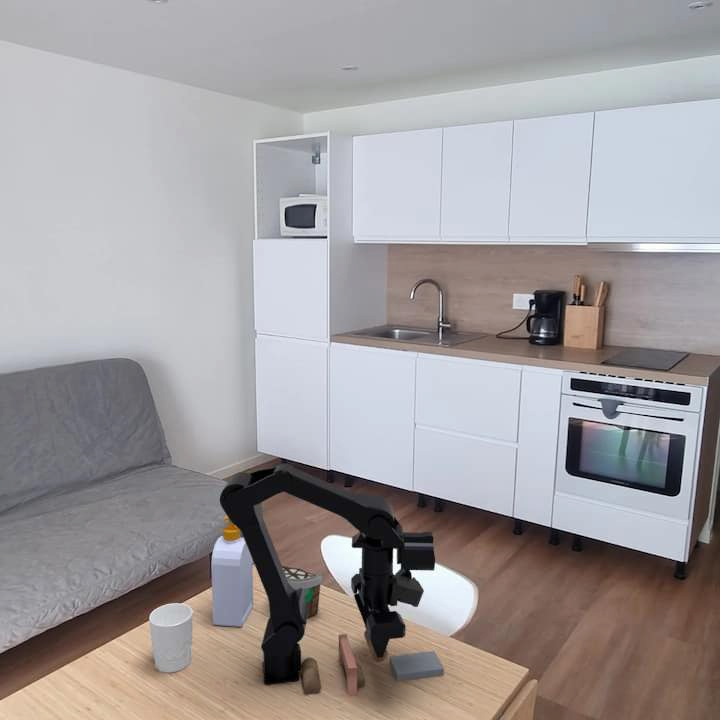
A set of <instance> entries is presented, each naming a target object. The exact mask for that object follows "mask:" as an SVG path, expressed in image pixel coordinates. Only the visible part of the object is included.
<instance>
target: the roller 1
mask: <svg viewBox="0 0 720 720" xmlns="http://www.w3.org/2000/svg"><path fill="white" fill-rule="evenodd" d="M318 666H319V665H318V662H317V660H316V659H315V657H314V658H313V657H307V658H305V659H303V660H302V661H301V675H302V682H303V689H304V692H305V693H306V694H307V695H308V696H309V695H317V694H319V693H320V691H321V690H322V685H321V678H320V673H319V672H320V671H319V667H318Z"/></svg>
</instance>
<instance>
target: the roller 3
mask: <svg viewBox="0 0 720 720" xmlns="http://www.w3.org/2000/svg"><path fill="white" fill-rule="evenodd" d="M363 634H364V636H363V637H364V639H365V641H366V645H367V647H368V650H369V653H370V656H371V660H373V661H374V662H377V663H381V662H383V661H385V660H386V659H387V658H388V655H389V654H388V653H389V652H388V649H387V648H386V650H385V653H384V656H383V657H382V658H377V656H376V653H375V651H374V648H373V646H372V643H371V641H370V638H369V636H368V633H367V630H366V629H365V631H364V633H363Z"/></svg>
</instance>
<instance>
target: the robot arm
mask: <svg viewBox="0 0 720 720" xmlns="http://www.w3.org/2000/svg"><path fill="white" fill-rule="evenodd" d="M281 493H286V494H289V495H290V496H293V497H295V498H297V499H300V500H302V501H305V502H307V503H309V504H311V505H314V506H317V507H318V508H321V509H324V510H326V511H328V512H330V513H332V514H335V515H338V516H340V517H341V518H343V519H344V520H346V521H347V522H348V523H349V524H351V526H352V527H354V528H355V529H356V530H357V531H358V533H355V535H353V536H352V538H351V548H353V549H361V567H359V568H358V569H359V570H358V573H355V574H354V575H353V576H352V577H351V579H350V587H351V588H350V589H351V590H352V593H353V594H354V595H353V598H354V600H355V603H356V606H357V609H358V610H359V613H360V615H361V618H362V621H363V623H364V628H365V631H366V630H367V633H368V636H369V638H370V641H371V643H372V646H373V648H374V651H375V653H376V656H377V658H382V657H383V656H384V653H385V650H386V649H387V647H388V645H389V642H390V640H392V639H393V640H394V639H402V638H405V636H406V629H407V628H406V627H407V626H406V624H405V622H404V619H403V617H402V615H401V614H400V613H398V611H397V610H390V607H396V606H398V602H399V603H403V604H407V605H410V606H412V607H413V608H417V607H419V605H420V602H421V599H422V597H423V595H424V592H425V590H424V589H423V586H422V585H421V583H420V581H418V580H417V579H416V577H413V574H412V571H429V572H430V571H432V572H433V571H435V569H436V556H435V546H434V534H433V533H434V532H432V531H423V532H422V531H421V532H413V531H412V532H409V531H408V532H406V531H404V528H403V525H402V523H400V521H399V520H398V519H397V518H396V516H395V515H394V508H393V505H392V504H391V502H390V501H389V500H388V499H387V498H385V497H382V496H378V495H373V494H370V493H357V492H351V491H348V490H346V489H344V488H342V487H340V486H337V485H335V484H332V483H330V482H327V481H326V480H323V479H320V478H318V477H317V476H314V475H311V474H310V473H307V472H304V471H303V470H300V469H298V468H295V467H294V466H293V465H291V464H289V463H280V464H278V465H275V466H272V467H265V468H261V469H257V470H254V471H251V472H249V473H248V472H237V473H234V474H233V475H232V476H231V477H230V478H229V479H228V480H227V483H226V484H225V486H224V488H223V489H222V491H221V493H220V496H219V505H220V506H221V509H222V510H223V512H224V513H225V515H226V516H228V518H229V520H230V521H231V522H232V523H233V524H234V525H235V526H236V527H237V528H238V529H240V533H241V535H242V538H244V540H245V542H246V545H247V547H248V550H249V552H250V555H251V557H252V561H253V565H254V567H255V569H256V571H257V574H258V577H259V578H260V581H261V585H262V586H263V589H264V591H265V594H266V597H267V599H268V607H269V618H268V619H267V623H266V626H265V631H264V634H263V638H262V641H261V645H260V648H261V651H262V657H263V659H262V660H263V661H262V662H261V663H262V675H263V676H262V677H263V683H264V685H268V686H269V685H275V684H276V685H277V684H283V683H291V682H298V681H300V677H301V676H300V673H299V672H302V668H301V664H302V649H301V646H300V643H299V642H300V641H301V640H302V639H303V638H304V636H305V632H306V626H307V622H308V619H307V617H308V611H309V605H310V604H309V603H308V602H307V601H306V599H305V597H304V592H303V589H302V588H300V589H298V590H295V589H293V588H292V587H291V586H290V584H289V583H288V580H287V578H286V575H285V573H284V570H283V568H282V566H283V565H282V562H281V559H280V557H279V555H278V553H277V550H276V548H275V545H274V542H273V540H272V538H271V535H270V532H269V530H268V527H267V525H266V522H265V520H264V517H263V507H262V503H263V502H265V501H267V500H269V499H271V498H273V497H275V496H277V495H279V494H281ZM394 549H396V565H400V569H399V570H398V571H397V572H396V573H394ZM389 606H390V607H389Z"/></svg>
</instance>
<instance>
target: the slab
mask: <svg viewBox="0 0 720 720" xmlns="http://www.w3.org/2000/svg"><path fill="white" fill-rule="evenodd" d="M389 665H390V668H391V670H392V673H393V676H394V678H395V679H396V682H397V683H398V682H404V681H405V682H406V681H412V680H419V679H426V678H427V679H428V678H433V677H435V678H436V677H442V676H444V674H445V672H444V671H445V668H444V667H443V665H442V663H441V660H440V659H439V657H438V655H437V653H436V651H435V650H431V651H423V652H415V653H406V654H398V655H391V656H389Z"/></svg>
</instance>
